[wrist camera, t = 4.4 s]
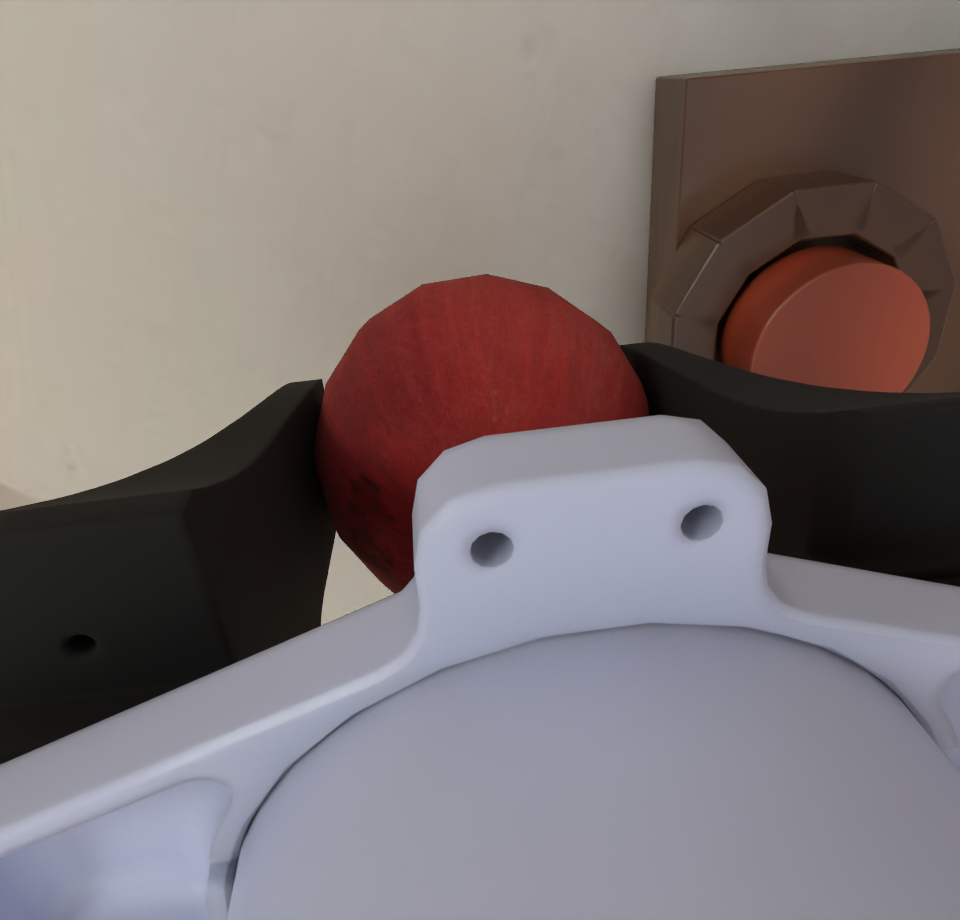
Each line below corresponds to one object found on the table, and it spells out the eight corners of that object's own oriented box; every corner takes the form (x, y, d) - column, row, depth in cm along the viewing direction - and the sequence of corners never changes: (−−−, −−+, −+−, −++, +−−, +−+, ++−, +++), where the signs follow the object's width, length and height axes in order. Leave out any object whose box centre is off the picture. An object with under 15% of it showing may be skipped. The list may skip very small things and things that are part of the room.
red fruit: (494, 513, 18) (557, 802, 11) (286, 405, 16) (199, 676, 9) (642, 328, 16) (838, 539, 9) (425, 174, 13) (456, 292, 7)
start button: (903, 236, 17) (953, 252, 15) (866, 398, 19) (907, 427, 18) (729, 255, 17) (762, 274, 15) (712, 417, 19) (740, 448, 17)
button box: (1021, 42, 18) (1167, 36, 15) (915, 437, 24) (1001, 498, 21) (630, 79, 18) (688, 82, 14) (620, 475, 24) (658, 544, 20)
